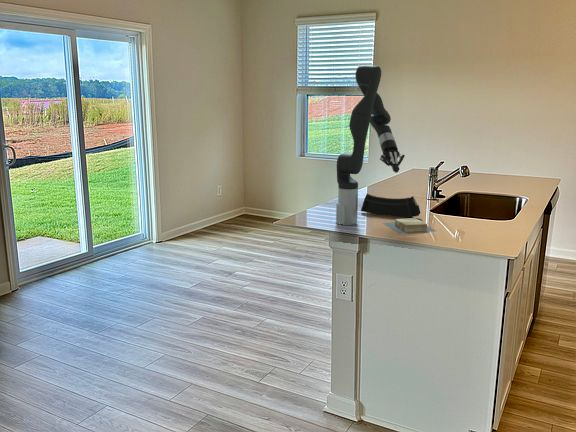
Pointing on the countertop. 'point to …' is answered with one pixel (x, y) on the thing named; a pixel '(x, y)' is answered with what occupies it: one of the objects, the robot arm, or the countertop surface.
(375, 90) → the robot arm
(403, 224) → the oak tile
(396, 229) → the rubber mat
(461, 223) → the countertop surface
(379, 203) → the magazine
